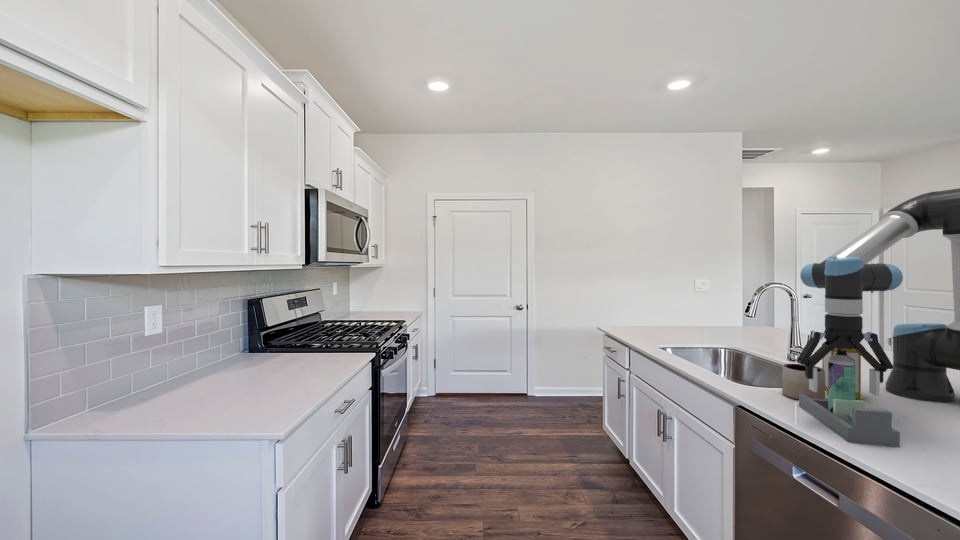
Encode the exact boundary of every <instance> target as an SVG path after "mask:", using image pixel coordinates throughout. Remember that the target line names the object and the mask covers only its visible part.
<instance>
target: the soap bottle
mask: <svg viewBox="0 0 960 540" xmlns="http://www.w3.org/2000/svg"><path fill="white" fill-rule="evenodd" d="M843 350H846V353H847V355H849V357H850V358H852V359H854V360H855V400H856V399H858V400H862V399H861V396H862V395H861V394H862V393H861V392H862V390H861V388H862V387H861V386H862V385H861V384H862V383H861V382H862V381H861V380H862V379H861V378H862V376H861V375H862V374H861V373H862V372H861V371H862V368H861V367H862V363H861V362H862V356H861V355H860V354H859V353H858V352H857V351H856V350H855V349H852V350H850V349H843ZM837 351H838V349H837V348H835V349H834V350H832V351H830V352H829V353H828V354H827V355H826V356H825V357H824V358H822V359H821V360H822V363H821V365H822V366H821V367H822V369H824V370H825V391H826V392H827V393H828V360H829V357H831V356H833V355H835V354H836V353H837ZM827 393H826V394H827Z"/></svg>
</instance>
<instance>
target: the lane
mask: <svg viewBox="0 0 960 540" xmlns="http://www.w3.org/2000/svg"><path fill="white" fill-rule="evenodd" d="M798 406H799V407H800V408H801V409H802V410H804V411H805V412H807V413H808V414H810V415H811V416H813V418H816V420H818V421H819V422H820V423H821V424H823V425H825V426H826V427H827V428H829V430H831V431H832V432H834V433H835V434H837V435H838V436H840V437H841V438H842V439H843V440H844V441H846V442H848V443H859V444H867V445H876V446H877V445H879V446H890V447H901V443H900V442H901V438H900V437H901V432H900V431H898V430H897V429H896V428H893V412H891V411H889V410H887V409H885V410H884V409H873V408H865V409H862V408H852V426H851V425H850V424H848V423H847V422H845V421H844V420H842V419H841V418H839V417H838V416H836V415H835V414H833V413H832V412H830V411H829V410H828V398H827V399H826V398H825V399H812V398H809V397H808V396H806V395H801V394H799V400H798Z"/></svg>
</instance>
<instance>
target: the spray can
mask: <svg viewBox="0 0 960 540" xmlns="http://www.w3.org/2000/svg"><path fill="white" fill-rule="evenodd" d="M827 396H828V397H827V400H828V409H827V410H829V411H830V412H832V413H833V399H847V400H856V399H855V360H854V359H852V358H850V357H849V355H847V353H846V350H843V349H838V351H837V353H836V354H835V355H833V356H831V357H829V360H828V394H827Z"/></svg>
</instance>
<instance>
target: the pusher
mask: <svg viewBox="0 0 960 540" xmlns="http://www.w3.org/2000/svg"><path fill="white" fill-rule="evenodd" d="M852 408H862V409H866V401H864V400H863V399H861V400H856V399H855V400H847V399H833V414H835V415H836V416H838V417H839V418H841V419H842V420H844V421H845V422H847V423H848V424H850V425H851V426H852Z"/></svg>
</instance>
